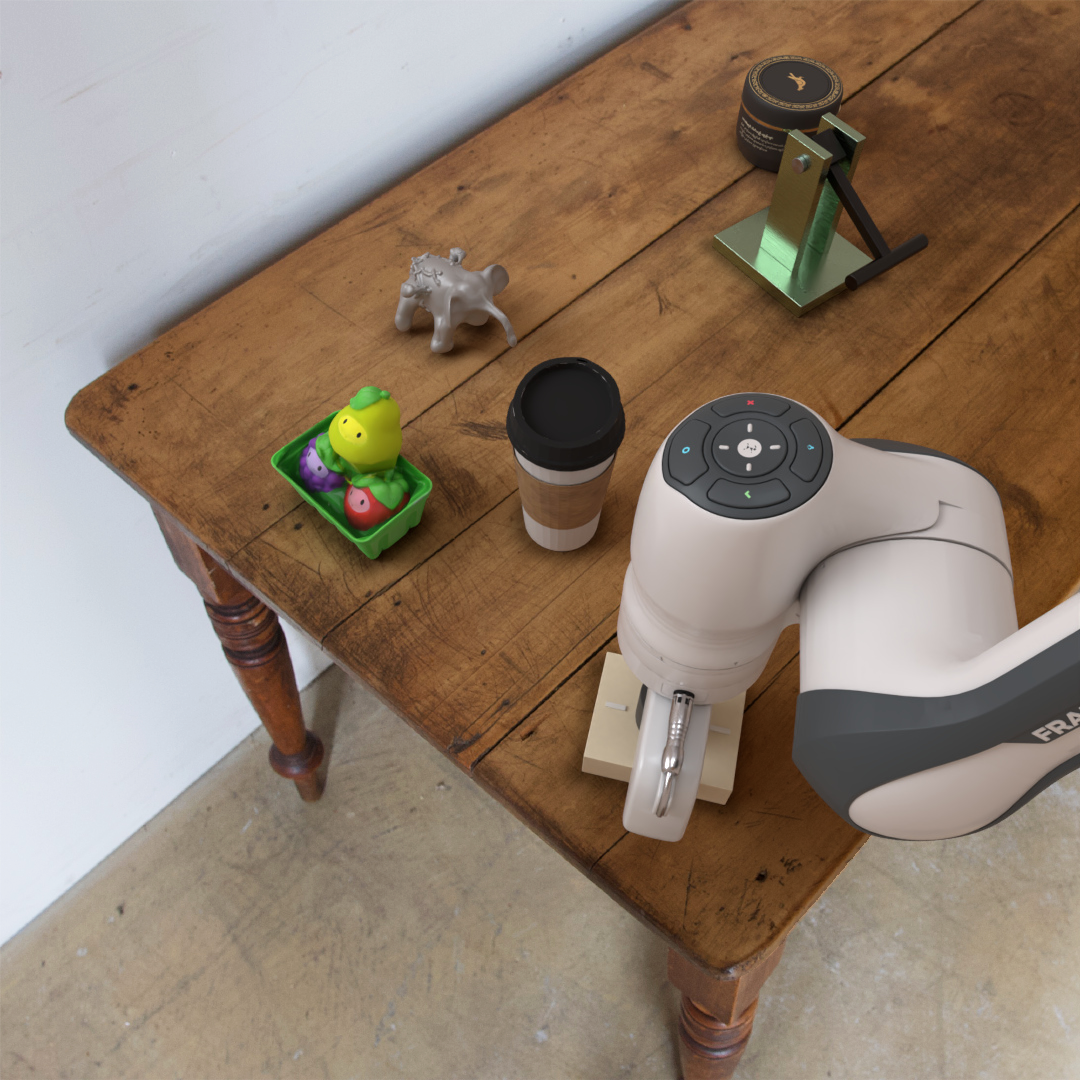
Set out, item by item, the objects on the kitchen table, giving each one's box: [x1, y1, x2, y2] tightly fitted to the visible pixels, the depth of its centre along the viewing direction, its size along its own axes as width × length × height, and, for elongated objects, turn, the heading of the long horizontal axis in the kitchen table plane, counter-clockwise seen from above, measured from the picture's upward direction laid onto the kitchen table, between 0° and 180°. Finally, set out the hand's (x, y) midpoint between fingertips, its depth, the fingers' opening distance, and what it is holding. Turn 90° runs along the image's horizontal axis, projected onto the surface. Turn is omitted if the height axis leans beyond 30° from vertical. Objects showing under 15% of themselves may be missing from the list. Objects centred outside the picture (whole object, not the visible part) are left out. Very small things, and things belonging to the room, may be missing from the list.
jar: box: [735, 54, 844, 174], centre depth 103 cm, size 10×10×8 cm
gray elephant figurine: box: [394, 246, 518, 354], centre depth 88 cm, size 9×12×8 cm
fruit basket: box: [270, 385, 433, 561], centre depth 76 cm, size 11×9×11 cm
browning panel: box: [581, 651, 747, 805], centre depth 69 cm, size 10×9×3 cm
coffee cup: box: [505, 356, 627, 552], centre depth 74 cm, size 8×8×15 cm
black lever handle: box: [811, 128, 930, 292], centre depth 87 cm, size 13×9×2 cm
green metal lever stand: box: [711, 112, 874, 318], centre depth 91 cm, size 12×10×14 cm
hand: (668, 716), depth 67 cm, fingers open, 8 cm apart
